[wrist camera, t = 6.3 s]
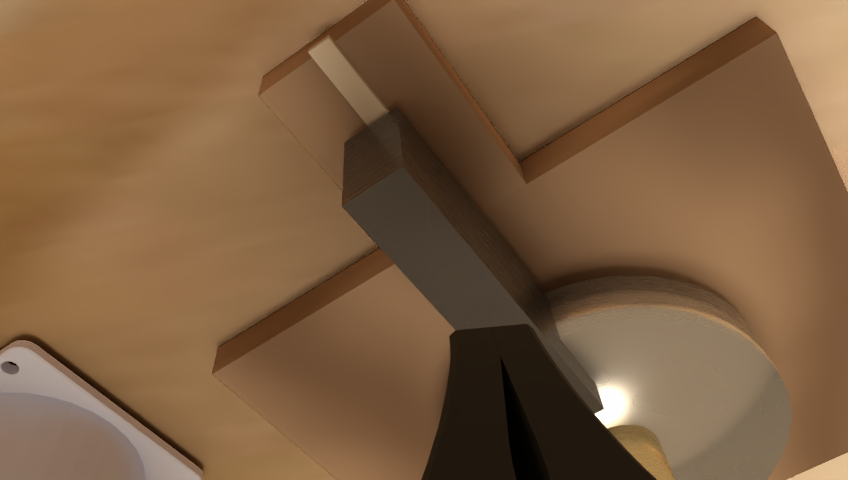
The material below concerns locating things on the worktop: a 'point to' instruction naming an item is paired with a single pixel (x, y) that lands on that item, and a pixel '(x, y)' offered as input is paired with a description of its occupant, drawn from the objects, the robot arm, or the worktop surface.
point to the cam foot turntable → (580, 319)
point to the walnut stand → (558, 233)
